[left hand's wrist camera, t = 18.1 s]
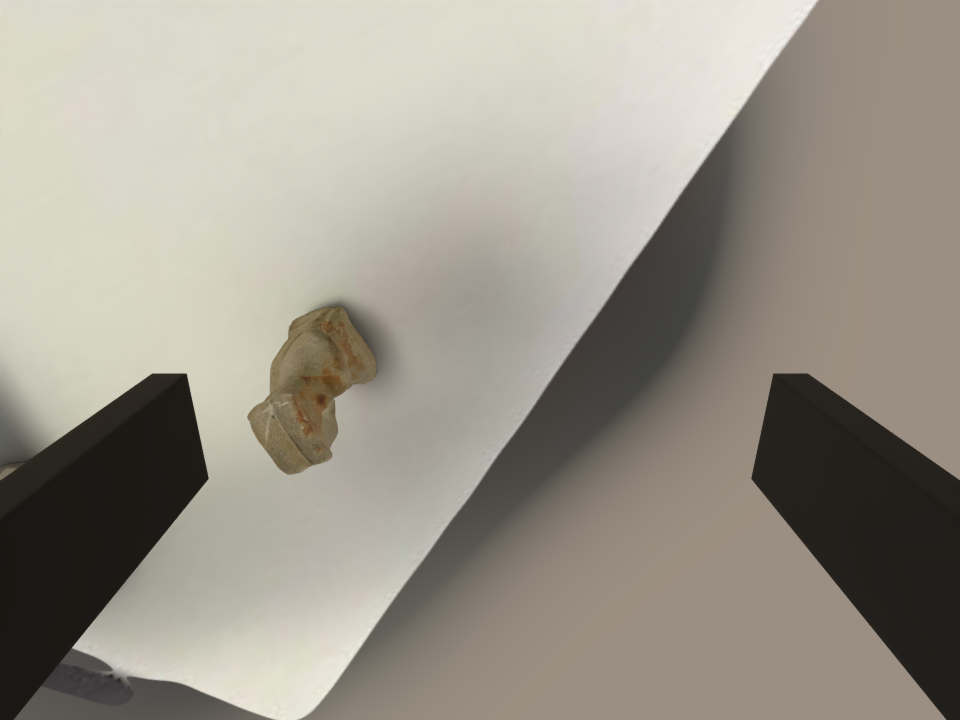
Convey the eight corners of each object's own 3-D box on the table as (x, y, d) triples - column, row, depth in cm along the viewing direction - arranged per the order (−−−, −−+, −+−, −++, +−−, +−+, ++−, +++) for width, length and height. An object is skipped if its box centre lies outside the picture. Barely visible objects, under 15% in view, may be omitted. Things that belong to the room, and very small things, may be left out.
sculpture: (327, 390, 47) (263, 494, 33) (289, 313, 45) (202, 390, 31) (390, 368, 46) (352, 465, 32) (355, 289, 44) (296, 357, 30)
